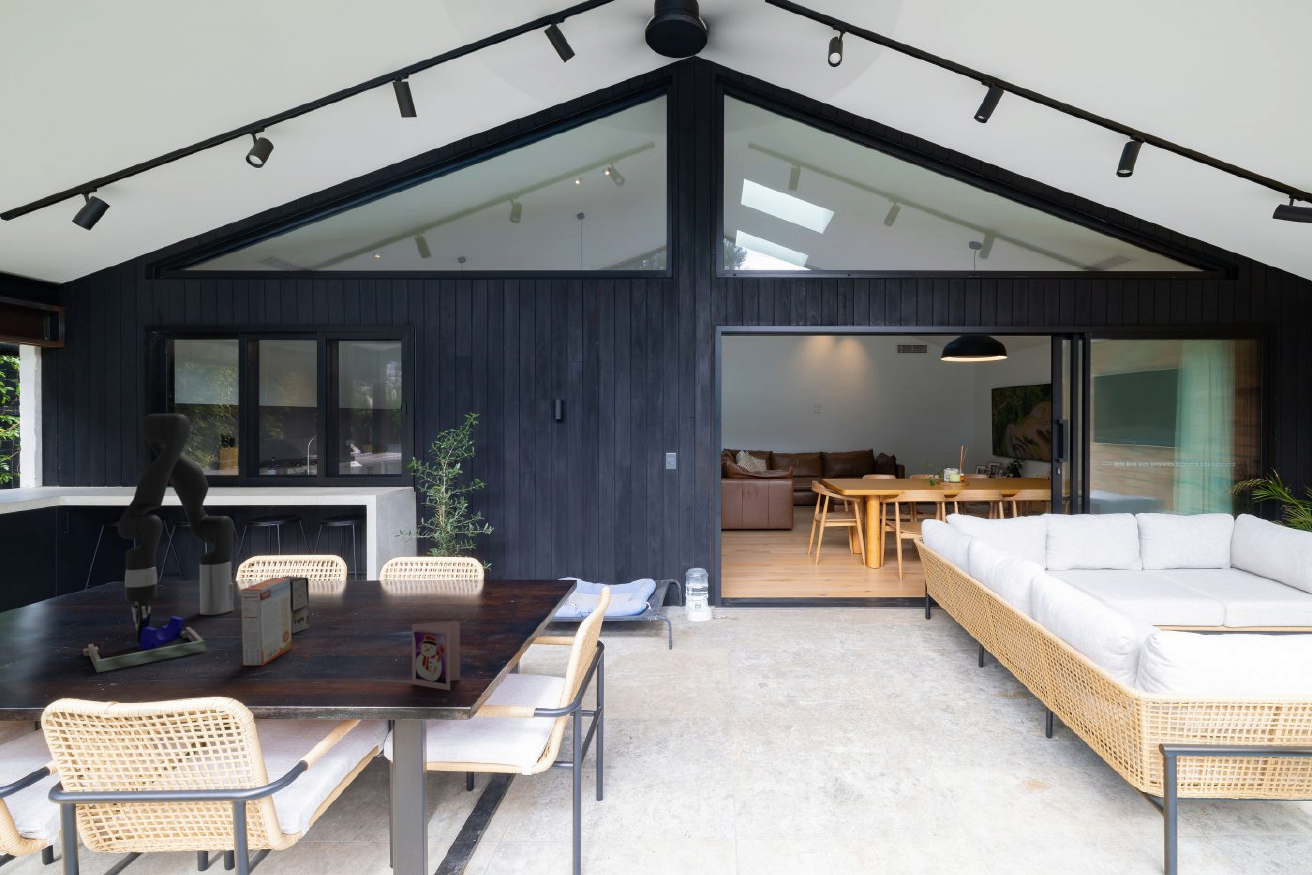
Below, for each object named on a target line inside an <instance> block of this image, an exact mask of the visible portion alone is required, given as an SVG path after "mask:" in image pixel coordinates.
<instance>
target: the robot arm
mask: <svg viewBox="0 0 1312 875" xmlns="http://www.w3.org/2000/svg"><path fill="white" fill-rule="evenodd" d="M190 423H191V422H190V420H189V418H188V417H187V416H186V415H184V414H182V413H151V414H148V415H146V416H145V417H144V418H143V420H142V423H141V429H142V433H143V435H144V436H143V437H145V440H146V442H147V443H148V445H149V446H150V448H151V449H152V451H153V452H154V454H155V455H156V457H157V458H156V459H155V460H154V461H153V462H152V463H151V464H150V465H149V466H148V467H147V468H146V470H144V472H143V473H142V475H141V476H140V478H139V479H138V482H137V486H136V489H135V491H134V492H135V493H134V496H133V499H132V500H131V502H130V503H129V505H128V507H127V508H126V509H125V511H124V513H123V514H122V516H121V518H120V519H119V522H118V525H117V532H118V535H119V536H120V537H121V538H122V539H124V540H141V543H140V545H139V546H136V547H135V546H134V547H131V548H129V549H128V550H126V552H125V573H124V600H125V601H126V602H128V603H134V605H132V607H131V611H132V614H133V621H134V626H135V629H136V642H137V643H138V644H139V643H140V639H141V635H142V630H143V628H144V627H146V626H148V627H150V620H151V616H152V615H151V610H152V607H151V605H150V603H148V602H149V601H150V600H154V599H156V598H157V597H158V571H157V560H156V559H157V550H158V546H159V542H160V539H161V537H162V533H163V530H164V529H163V528H164V524H163V521H162V519H161V518H160V517H159V516H158V515H155V514H147V513H148V512H149V511H152V510H156V509H159V508H160V507H161V506H162V505H163V501H164V499H165V498H164V497H165V494H166V491H167V486H168V484H169V481H170V483H171V485H172V486H171V487H172V488H173V490H174V492H175V494H176V495H177V497H178V499H179V501H180V503H181V506H182V508H183V510H184V512H185V515H186V518H187V521H188V523H189V527H190V530H191V532H192V535H193V537H194V539H195V540H196V541H197V542H199V543H203V544H208V543H209V544H210V543H211V544H214V547H213V549H212V550H210V551H208V552H205V553H202V554H201V555H200V556H199V560H198V561H199V614H200V615H202V616H215V615H221V614H225V613H229V612H232V611H234V583H232V555H233V552H234V551H233V550H234V549H233V548H234V533H235V532H234V530H235V529H234V528H235V526H234V522H233V519H232V518H231V517H230V516H228V515H209V514H207V513H206V510H205V508H204V502H205V500H206V497H207V494H208V492H209V483H208V480H207V478H206V475H205V472H204V470H203V469H202V468H201V467H200V465H198V464H197V463H196V462H195V461H194V460H192V459H191V458H190V457H188V456H187V455H186V454H185V453H183V450H184V448H185V445H186V444H187V441H188V439H189V437H190V436H189V435H190V432H191V424H190Z"/></svg>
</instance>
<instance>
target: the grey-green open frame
mask: <svg viewBox="0 0 1312 875" xmlns="http://www.w3.org/2000/svg"><path fill="white" fill-rule="evenodd" d="M180 637H181V638H183V639H185V638H188V640H189V641H190V642H186V643H181V644H175V645H169V646H165V647H164V646H163V647H160V648H153V649H150V650H142V651H139V652H133V653H127V654H122V655H116V656H112V657H105V658H102V659H101V657H100V655H99V648H98V646H94V643H90V644H88V646H87V648H83V650H82V651H83V655H84V657H85V656H89V658H90V657H91V658H90V659H91V661H92V664H93V666H94V669H95V671H96V673H101V672H106V671H111V670H116V669H122V668H127V667H132V666H137V665H141V664H147V663H151V662H157V661H162V660H167V659H172V658H179V657H183V656H187V655H191V654H197V653H202V652H206V640H205V639H203V638H201V636H200V635H198V633H197V632H196V631H195V630H194V629H192V628H191V627H190V626H186V627H185V630H183V631H181V634H180Z"/></svg>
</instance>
